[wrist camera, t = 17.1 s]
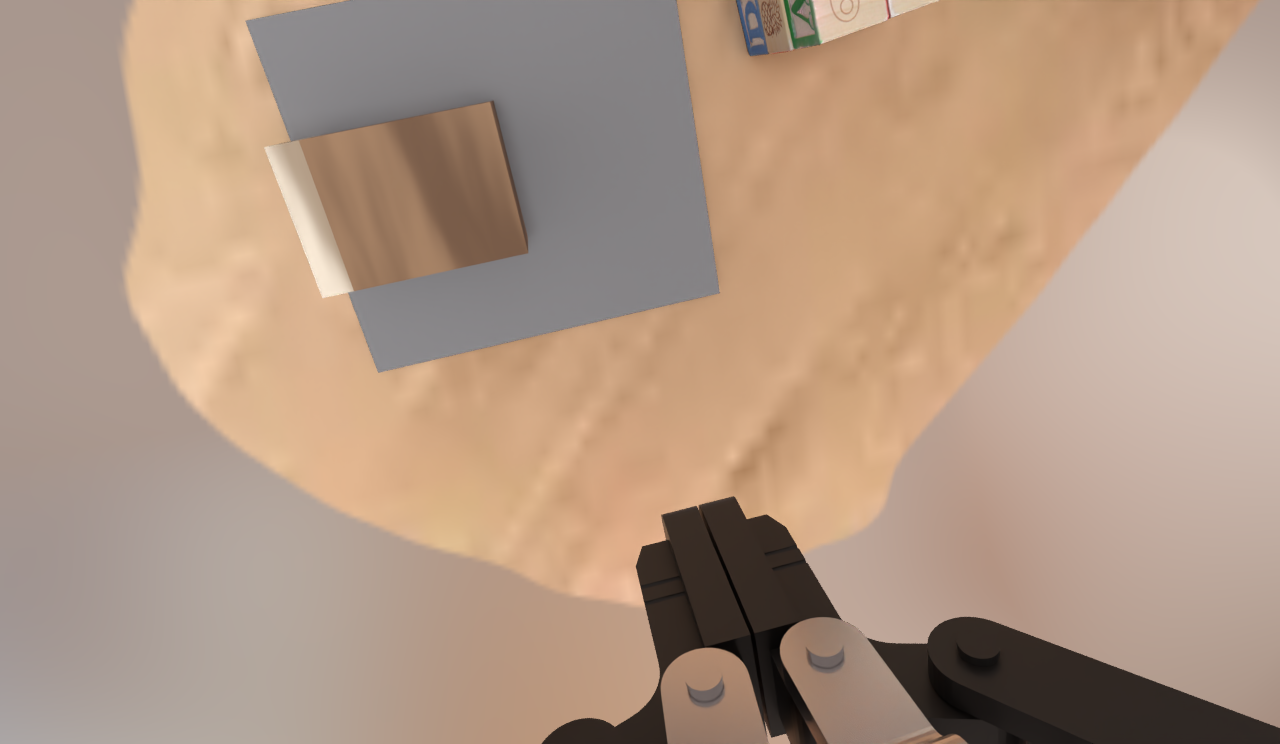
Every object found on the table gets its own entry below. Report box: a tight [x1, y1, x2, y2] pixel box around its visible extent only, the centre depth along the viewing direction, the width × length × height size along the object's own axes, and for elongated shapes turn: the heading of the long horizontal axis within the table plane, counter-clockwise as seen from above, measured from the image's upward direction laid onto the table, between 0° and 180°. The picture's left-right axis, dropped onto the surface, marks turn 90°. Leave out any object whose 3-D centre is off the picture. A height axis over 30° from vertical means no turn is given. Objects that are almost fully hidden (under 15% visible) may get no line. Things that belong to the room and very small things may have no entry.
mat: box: [246, 0, 720, 373], centre depth 36 cm, size 20×18×1 cm
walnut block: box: [264, 101, 528, 298], centre depth 34 cm, size 4×7×10 cm
